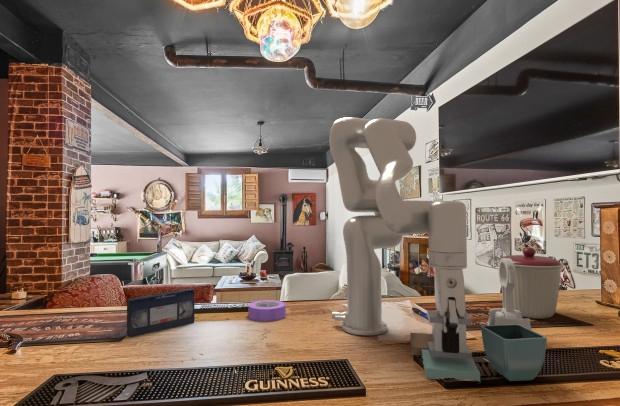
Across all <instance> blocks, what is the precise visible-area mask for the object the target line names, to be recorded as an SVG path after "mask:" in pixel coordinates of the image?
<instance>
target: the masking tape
mask: <svg viewBox="0 0 620 406" xmlns="http://www.w3.org/2000/svg"><path fill="white" fill-rule="evenodd" d="M286 306H287V305H286V302H283V301H281V300H275V299H264V300H263V299H262V300H256V301H252V302H250V303H248V305H247V307H248V313H247V314H248V316H247V317H248V318H249V320H252V321H255V322H256V321H257V322H273V321H279V320H282V319H284V318H285V317H286V312H287V311H286V309H287V308H286Z"/></svg>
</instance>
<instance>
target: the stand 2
mask: <svg viewBox="0 0 620 406" xmlns="http://www.w3.org/2000/svg"><path fill="white" fill-rule="evenodd" d="M422 359H423V361H422V365H424V366H423V369H424V371H423V372H424V375H425V379H430V380H431V379H432V380H440V379H439V378H455V379H473V380H477V381H479V382H480V383H481V372H480V370H479V368H478V366H477V364H476V362H475V360H474V359H473V358H472V359H462V358H449V357H435V356H430V354H429V350H425V349H422V356H421V360H422Z"/></svg>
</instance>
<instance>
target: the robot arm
mask: <svg viewBox="0 0 620 406" xmlns="http://www.w3.org/2000/svg"><path fill="white" fill-rule="evenodd" d="M328 141H329V142H328V144H329V145H328V146H329V150H330V154H331V156H332V158H333V162H334V165H335V167H336V170H337V175H338V183H339V187H340V194H341V198H342V202H343V206H344V208H345V209H346V210H347V211H348V212H351V213H373V214H374V215H370V214H369V215H356V216H352V217H350V218H348V219H347V220H346V221H345V222H344V224H343V228H342V236H343V242H344V247H345V252H346V279H347V280H346V281H347V282H346V285H347V287H346V289H347V290H346V293H347V298H346V299H347V300H346V302H347V303H346V304H347V305H346V306H347V309H346V311H343V312H339V311H332V312H331V319H334V321H336V322H337V321H338V322H339V321H341V322H342V323H341V328H342V330H343V331H345V332H346V333H349V334H352V335H356V336H363V337H364V336H366V337H367V336H368V337H369V336H378V335H382V334H385V333H386V332H387V331H388V324H387V323H386V322H385V321H382V319H383V318H382V312H383V311H382V309H383V308H382V265H381V261H380V259H379V257H378V255H377V253H376V251H375V250H377V249H380V250H381V249H390V248H391V249H392V248H395V247H397V246H398V245H400V243H401V242H402V239H403V235H415V234H417V235H418V234H419V235H423V234H425V235H426V234H427V235H428V267H429V268H434V270H433V271H434V273H433V274H434V275H433V276H434V279H433V280H434V301H435V307H436V311H438V312H439V314H440V316H441V317H442V318H443V330H444V332H442V350H443V352H446V353H459V328H458V314H459V316H460V317H461V318H462V319H465V318H466V312H467V308H466V307H467V306H466V305H467V304H466V289H465V278H464V271H463V270H464V269H467V267H468V256H467V254H468V250H467V249H468V248H467V246H468V245H467V244H468V243H467V207H466V204H465V203H464V202H463V201H459V200H403V199H402V198H403V197H401V195H400V192H399V191H398V187H397V185H396V182H397V181H399V180H402V178H404V177H405V176H407V175H408V174H409V173H410V171H411V170H412V169H413V166H414V161H413V158H412V156H411V155H410V153H409V152H410V151H411V150H412V149H413V148H414V146H415V145H416V143H417V142H416V141H417V134H416V130H415V128H414V126H413V125H412V124H411V123H410V122H408V121H404V120H397V119H392V118H391V119H390V118H385V117H384V118H383V117H381V118H374V119H368V118H361V117H351V116H350V117H349V116H347V117H342V118H338V119H336V120H335V121H334V122H333V124H332V125H331V128H330V131H329V139H328ZM357 148H358V149H367V150H369V154H370V155H371V157H372V160H373V162H374V164H375V166H376V168H377V170H378V172H379V177H378V180H377V179H375V180H374V179H371V178H370V177H369V175H368V171H367V169H368V168H367V166H366V163H365V160H364V159H363V158H362V156H361V155H360V153H359V152H357V151H356V149H357ZM445 314H449V317H445ZM446 320H449V322H446Z"/></svg>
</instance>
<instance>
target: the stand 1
mask: <svg viewBox="0 0 620 406" xmlns="http://www.w3.org/2000/svg"><path fill="white" fill-rule="evenodd" d="M409 341H410V342H409V343H410V348H411V355H412V356H413V357H415V356H414V355H422V349H425V350H428V342H432V333H425V332H424V333H423V332H409Z"/></svg>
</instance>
